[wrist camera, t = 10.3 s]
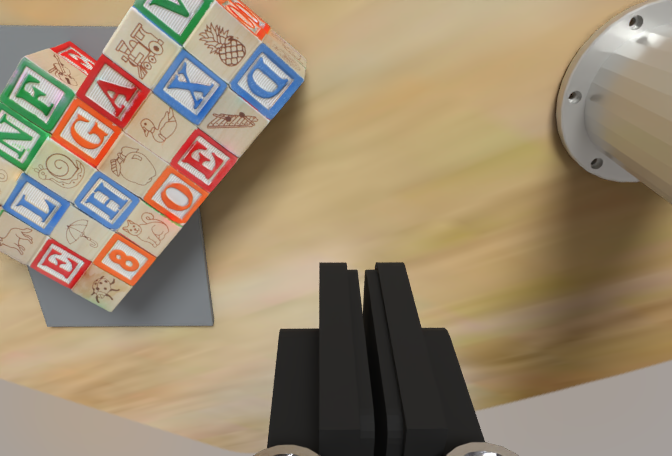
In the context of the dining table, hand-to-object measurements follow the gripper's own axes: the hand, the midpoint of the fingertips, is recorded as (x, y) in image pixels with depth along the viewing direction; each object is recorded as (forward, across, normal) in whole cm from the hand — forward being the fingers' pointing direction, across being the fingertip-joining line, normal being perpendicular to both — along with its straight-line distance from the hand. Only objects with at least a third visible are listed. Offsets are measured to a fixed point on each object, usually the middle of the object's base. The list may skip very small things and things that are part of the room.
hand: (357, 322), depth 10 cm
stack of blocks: (+23, +8, +8) cm, 26 cm away
